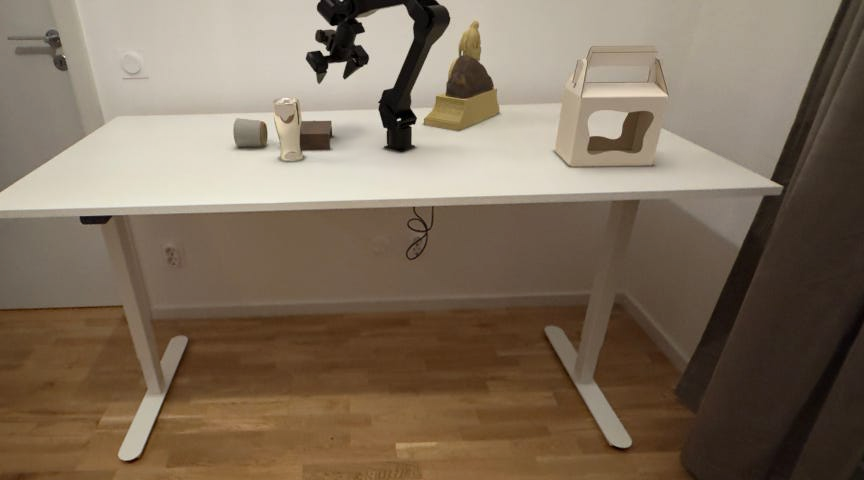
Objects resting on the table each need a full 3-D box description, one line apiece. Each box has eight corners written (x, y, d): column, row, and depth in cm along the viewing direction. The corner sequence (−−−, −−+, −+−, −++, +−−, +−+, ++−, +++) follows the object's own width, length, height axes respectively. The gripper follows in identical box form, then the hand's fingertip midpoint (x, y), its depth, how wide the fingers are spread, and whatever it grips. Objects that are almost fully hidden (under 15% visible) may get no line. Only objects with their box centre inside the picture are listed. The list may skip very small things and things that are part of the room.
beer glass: (302, 162, 140) (297, 104, 132) (276, 162, 140) (269, 103, 133) (307, 154, 146) (302, 97, 139) (281, 153, 146) (275, 97, 139)
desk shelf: (332, 135, 161) (330, 105, 157) (329, 149, 149) (327, 117, 145) (292, 136, 161) (289, 106, 156) (286, 150, 149) (283, 118, 144)
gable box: (568, 167, 137) (587, 50, 123) (553, 151, 148) (569, 42, 134) (653, 165, 138) (682, 49, 124) (631, 150, 149) (655, 42, 135)
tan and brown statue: (466, 108, 192) (472, 16, 177) (499, 113, 186) (507, 18, 171) (423, 124, 173) (426, 23, 158) (458, 131, 166) (464, 25, 151)
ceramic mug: (264, 149, 149) (260, 122, 145) (235, 149, 149) (230, 122, 145) (272, 139, 158) (269, 113, 155) (244, 139, 158) (240, 113, 155)
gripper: (357, 14, 155) (343, 58, 168) (301, 20, 145) (291, 66, 158) (377, 41, 153) (361, 83, 165) (322, 48, 142) (309, 92, 155)
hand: (331, 80), depth 161 cm, fingers open, 9 cm apart
